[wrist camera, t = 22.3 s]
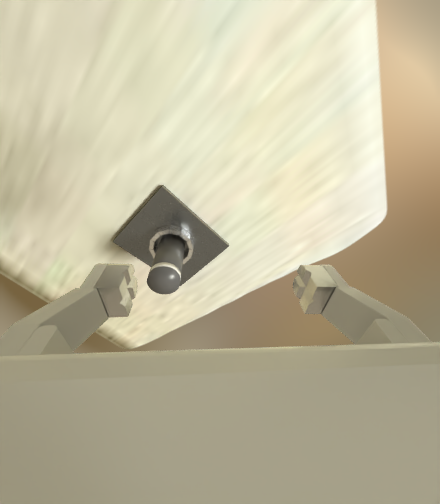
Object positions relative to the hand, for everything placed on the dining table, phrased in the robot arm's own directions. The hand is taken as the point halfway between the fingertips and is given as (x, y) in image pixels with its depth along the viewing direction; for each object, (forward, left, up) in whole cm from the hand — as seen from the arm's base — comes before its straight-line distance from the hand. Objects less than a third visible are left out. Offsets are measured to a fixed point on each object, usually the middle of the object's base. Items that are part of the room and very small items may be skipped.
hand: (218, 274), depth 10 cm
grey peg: (+6, -17, -30) cm, 34 cm away
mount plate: (+6, -17, -31) cm, 35 cm away
